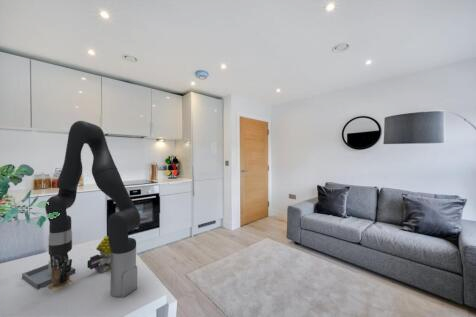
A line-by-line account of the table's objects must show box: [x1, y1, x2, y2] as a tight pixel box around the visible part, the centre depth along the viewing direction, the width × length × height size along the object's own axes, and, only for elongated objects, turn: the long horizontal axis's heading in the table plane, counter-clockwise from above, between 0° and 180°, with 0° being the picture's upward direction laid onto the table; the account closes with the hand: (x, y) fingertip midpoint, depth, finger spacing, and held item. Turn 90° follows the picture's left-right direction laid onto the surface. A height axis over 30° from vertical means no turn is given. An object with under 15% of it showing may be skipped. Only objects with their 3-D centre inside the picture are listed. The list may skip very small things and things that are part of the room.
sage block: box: [48, 259, 51, 275], centre depth 93 cm, size 4×4×6 cm
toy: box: [86, 235, 111, 274], centre depth 96 cm, size 10×13×15 cm
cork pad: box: [45, 279, 75, 293], centre depth 85 cm, size 7×7×1 cm
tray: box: [21, 263, 76, 290], centre depth 91 cm, size 16×13×2 cm
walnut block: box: [51, 265, 71, 286], centre depth 85 cm, size 4×4×6 cm
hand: (60, 280), depth 85 cm, fingers closed on walnut block, 4 cm apart
